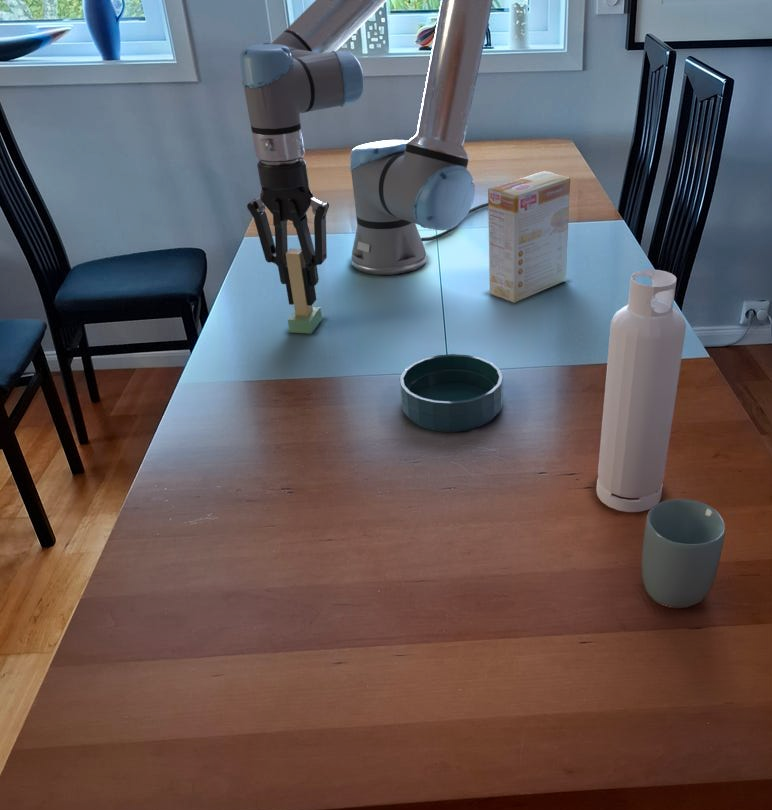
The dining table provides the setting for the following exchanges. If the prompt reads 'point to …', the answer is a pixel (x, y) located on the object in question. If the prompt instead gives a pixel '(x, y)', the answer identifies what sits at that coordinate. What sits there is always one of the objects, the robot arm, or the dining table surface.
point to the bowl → (451, 392)
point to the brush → (300, 296)
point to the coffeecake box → (528, 235)
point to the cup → (681, 551)
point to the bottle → (640, 394)
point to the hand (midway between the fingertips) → (302, 301)
